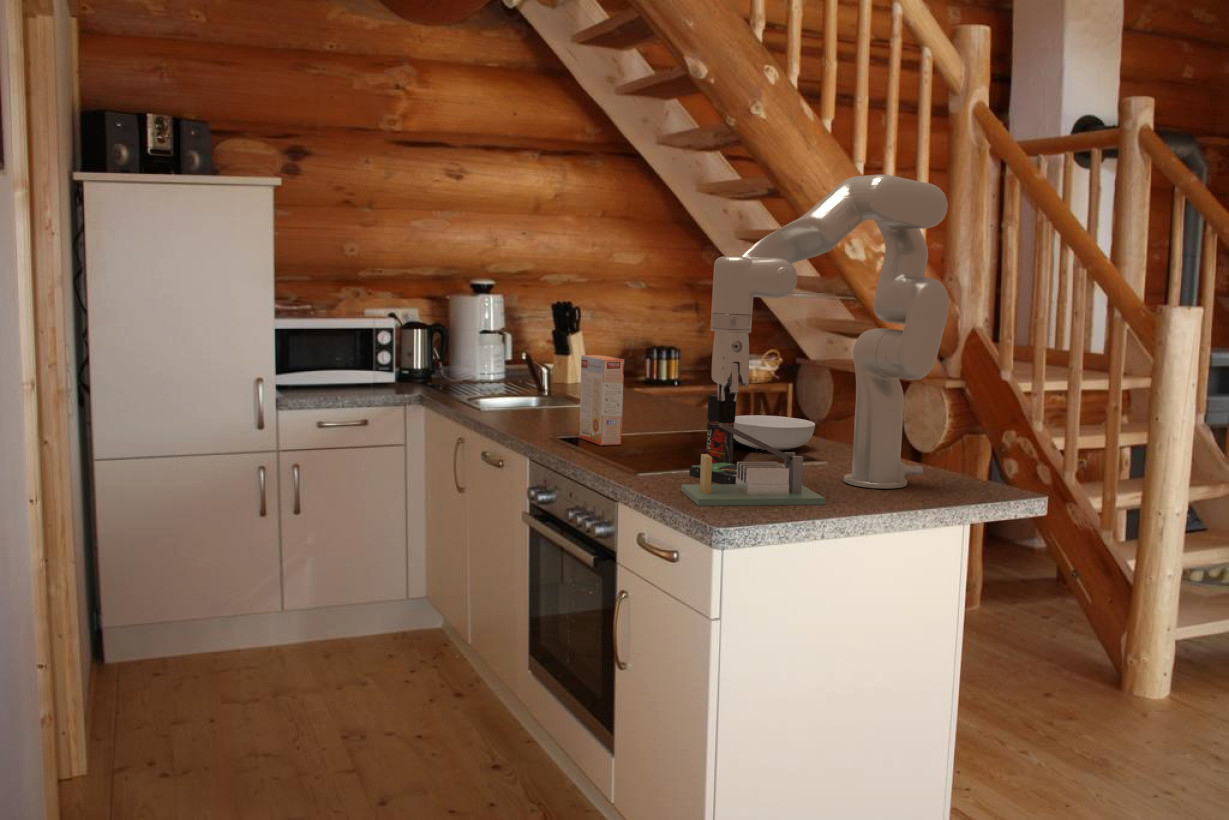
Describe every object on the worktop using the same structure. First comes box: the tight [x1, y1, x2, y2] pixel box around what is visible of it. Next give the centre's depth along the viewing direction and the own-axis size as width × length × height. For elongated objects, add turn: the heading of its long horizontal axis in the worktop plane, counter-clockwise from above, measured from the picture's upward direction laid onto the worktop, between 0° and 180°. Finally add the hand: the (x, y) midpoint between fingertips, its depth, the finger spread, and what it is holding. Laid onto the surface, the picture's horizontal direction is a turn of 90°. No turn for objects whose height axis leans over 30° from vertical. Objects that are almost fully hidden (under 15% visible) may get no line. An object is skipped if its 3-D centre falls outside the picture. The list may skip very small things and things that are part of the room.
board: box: [680, 451, 826, 507], centre depth 221 cm, size 24×14×8 cm, turn 100°
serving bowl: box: [733, 414, 816, 451], centre depth 282 cm, size 21×21×7 cm
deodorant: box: [705, 393, 734, 463], centre depth 259 cm, size 6×6×15 cm
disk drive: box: [689, 462, 737, 484], centre depth 240 cm, size 10×3×15 cm
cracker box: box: [578, 354, 625, 447], centre depth 284 cm, size 14×6×21 cm, turn 23°
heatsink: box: [736, 461, 789, 495], centre depth 221 cm, size 8×8×5 cm
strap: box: [718, 423, 794, 465], centre depth 220 cm, size 17×3×2 cm, turn 100°
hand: (725, 422), depth 218 cm, fingers closed
